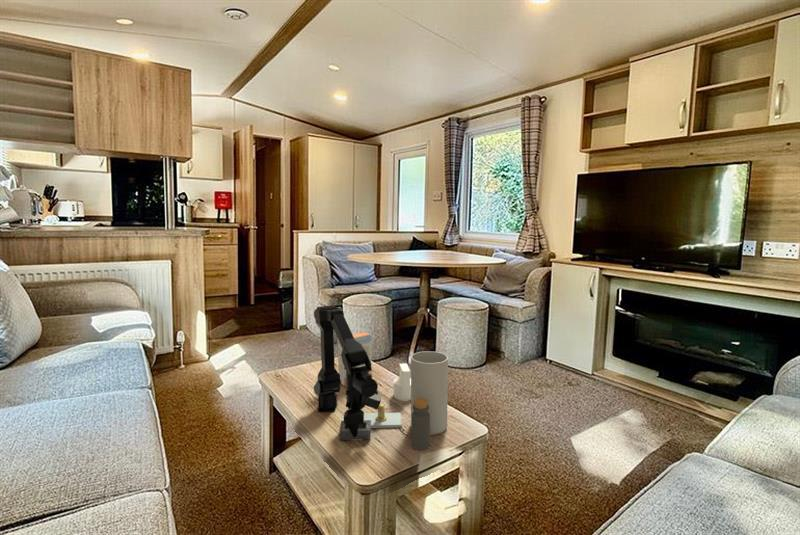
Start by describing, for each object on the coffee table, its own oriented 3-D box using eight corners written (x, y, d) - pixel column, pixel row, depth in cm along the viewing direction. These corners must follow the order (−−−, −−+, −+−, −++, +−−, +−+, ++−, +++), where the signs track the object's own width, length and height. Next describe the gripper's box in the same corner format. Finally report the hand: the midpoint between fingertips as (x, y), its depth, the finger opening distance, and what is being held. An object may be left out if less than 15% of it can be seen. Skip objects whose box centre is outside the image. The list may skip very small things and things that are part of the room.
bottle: (410, 441, 139) (410, 397, 137) (428, 440, 139) (428, 396, 137) (412, 451, 133) (412, 405, 131) (431, 450, 133) (431, 404, 131)
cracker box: (365, 375, 195) (364, 331, 192) (372, 379, 190) (371, 334, 188) (337, 382, 187) (336, 336, 184) (344, 387, 182) (343, 339, 179)
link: (339, 439, 138) (339, 431, 138) (341, 429, 145) (341, 420, 145) (370, 439, 139) (370, 430, 138) (370, 428, 146) (370, 420, 145)
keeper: (360, 428, 147) (360, 411, 146) (362, 416, 156) (361, 400, 155) (401, 427, 148) (401, 410, 147) (400, 415, 157) (400, 399, 156)
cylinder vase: (403, 425, 149) (403, 355, 146) (430, 415, 157) (431, 349, 154) (426, 440, 139) (427, 366, 136) (454, 428, 147) (455, 358, 144)
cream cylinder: (417, 399, 170) (417, 370, 168) (395, 401, 168) (395, 371, 167) (413, 390, 179) (413, 362, 177) (392, 391, 177) (392, 364, 176)
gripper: (379, 397, 131) (379, 445, 133) (379, 375, 149) (380, 417, 151) (343, 398, 130) (343, 446, 132) (347, 375, 149) (348, 417, 151)
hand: (355, 431), depth 142 cm, fingers closed on link, 7 cm apart
